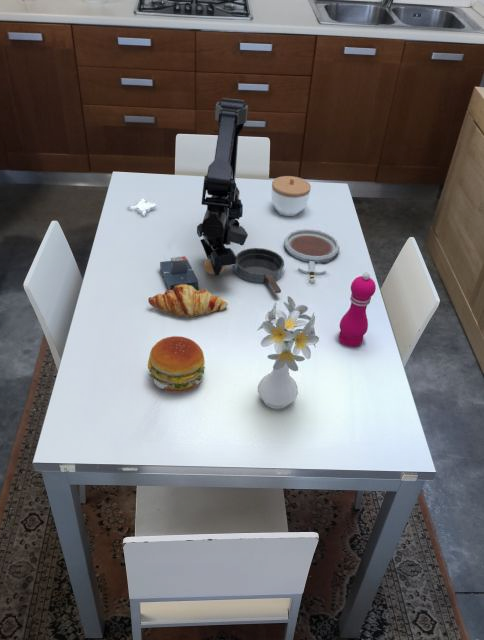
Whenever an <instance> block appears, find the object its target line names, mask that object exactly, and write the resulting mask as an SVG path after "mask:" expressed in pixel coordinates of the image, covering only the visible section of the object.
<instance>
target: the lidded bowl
mask: <svg viewBox="0 0 484 640" xmlns="http://www.w3.org/2000/svg"><path fill="white" fill-rule="evenodd" d="M311 188H312V186H311V184H310V182H309V181H307V180H306V179H304V178H302V177H298V176H292V175H282V176H279V177H278V176H277V177H276V178H274V179H273V180H272V182H271V202H272V205H273V207H274V208H275V210H277V212H278V214H280V215H282V216H285V217H295V216H297V215H298V214H299V213H300V212H302V211H303V210H304V209H305V207H306V206H307V203H308V201H309V197H310V193H311Z"/></svg>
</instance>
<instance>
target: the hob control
mask: <svg viewBox="0 0 484 640" xmlns="http://www.w3.org/2000/svg"><path fill="white" fill-rule="evenodd" d="M159 271H160V274H161V276H162V279H163V281H164V283H165V285H166V288H167V290H173V289H174V287H175V286H177V285H182V284H183V285H184V284H187V285H190V286H193V287H194V288H195V289H196V290H197V291H199V280H198V278H197V276H196V274H195V272H194V268H193V267H192V266H191V263H190V261H189V260H188V259H187V272H182V273H173V274H172V272H171V260H165V261H159Z"/></svg>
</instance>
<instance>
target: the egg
mask: <svg viewBox="0 0 484 640" xmlns="http://www.w3.org/2000/svg"><path fill="white" fill-rule="evenodd" d="M226 268H227V265H225V266H223V267H222V269H221V272H220V274H222V273H223V272H225V270H226ZM203 269H204V271H205V272H206V273H207V274H210V275H215V273H214V270H213V268H212V265H211V262H210V259H208V258H207V259H205V260H204V263H203Z"/></svg>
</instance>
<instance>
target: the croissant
mask: <svg viewBox="0 0 484 640" xmlns="http://www.w3.org/2000/svg"><path fill="white" fill-rule="evenodd" d="M147 299H148V303H149V305H150V306H152V307H154V308H156V309H158V310H159V311H161V312H163V313H165V314H168V315H169V314H170V315H173V316H176V317H188V318H189V317H191V318H192V317H198V316H202V315H204V314H205V315H208V314H211V313H213V312H216V311H217V312H220V311H223V310H225V309H227V307H228V305H229V303H228V302H227V301H225V300H224V299H223V298H222V297H220V296H219V295H214V294H212V293H211V292H210V291H209V290H207V289H201V290H198V291H197V290H196V289H195V288H194V287H193V286H190V285H187V284H184V285H183V284H182V285H177V286H175V287H174V289H173V290H168V289H166V290H165V291H164V292H163V294H162V293H157V294H155V295H154V296H150V297H148V298H147Z"/></svg>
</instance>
